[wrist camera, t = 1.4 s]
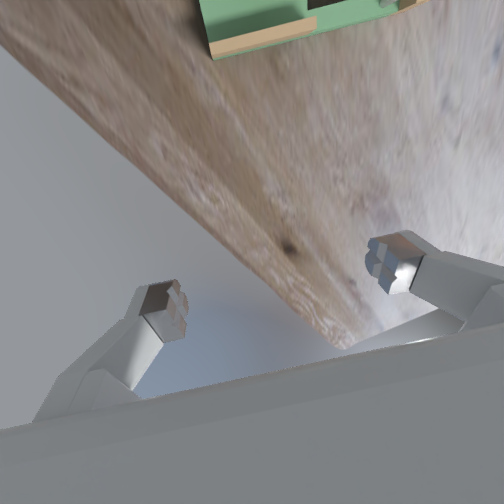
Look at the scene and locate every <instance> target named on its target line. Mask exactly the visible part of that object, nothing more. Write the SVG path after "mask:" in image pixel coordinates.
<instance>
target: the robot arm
mask: <svg viewBox="0 0 504 504" xmlns="http://www.w3.org/2000/svg"><path fill="white" fill-rule="evenodd" d="M367 247H368V248H369V249H370V251H369V252H368V253H367V254H366V256H365V265H366V268H367V270H368V272H369V273H370V274H371V276H373V277H376V278H378V284H379V285H380V286H381V287H382V288H383V290H384V291H385V292H386V293H387V294H388V295H391V294H396V293H402V292H407V291H410V293H412V294H414V295H416V296H418V297H419V298H421V299H423V300H425V301H427V302H429V303H431V304H433V305H434V306H436V307H438V308H440V309H442V310H444V311H446V312H448V313H450V314H451V315H453V316H455V317H457V318H459V319H461V320H463V321H465V323H464V324H463V326H462V327H461V329H460V330H459V332H455V333H451V334H446V335H442V336H437V337H432V338H427V339H423V340H418V341H413V342H409V343H404V344H399V345H395V346H390V347H385V348H380V349H376V350H371V351H366V352H362V353H357V354H352V355H348V356H343V357H338V358H333V359H329V360H324V361H320V362H315V363H311V364H306V365H301V366H296V367H292V368H287V369H282V370H278V371H273V372H268V373H264V374H259V375H254V376H250V377H245V378H241V379H236V380H231V381H226V382H222V383H218V384H212V385H208V386H203V387H199V388H194V389H189V390H184V391H180V392H175V393H170V394H165V395H161V396H156V397H152V398H147V399H141V398H140V397H139V396H138V395H136V394H135V393H134V392H133V389H134V388H135V386H136V385H137V383H138V382H139V380H140V379H141V377H142V376H143V374H144V373H145V372H146V370H147V368H148V367H149V366H150V364H151V363H152V361H153V360H154V358H155V357H156V355H157V354H158V352H159V351H160V349H161V348H162V346H163V345H164V344H163V343H166V342H171V341H175V340H179V339H183V338H184V337H185V330H186V322H185V320H184V319H185V317H186V316H187V315H188V301H187V298H186V295H185V293H183V292H181V291H180V284H179V282H178V281H177V280H175V279H174V280H169V281H164V282H158V283H153V284H148V285H144V286H139V287H138V288H137V289H136V291H135V294H134V296H133V298H132V301H131V303H130V305H129V308H128V310H127V313H126V315H125V317H124V319H122V320H119V321H118V322H117V323H116V324H115V325H114V326H113V327H111V328H110V329H109V330H108V331H107V332H106V333H105V334H104V335H103V336H102V337H101V338H99V339H98V340H97V341H96V342H95V343H94V344H93V345H92V346H91V347H90V348H89V349H88V350H86V351H85V352H84V353H83V354H82V355H81V356H80V357H79V358H78V359H77V360H76V361H75V362H74V363H72V364H71V365H70V366H69V367H68V368H67V369H66V370H65V371H64V372H63V373H61V374H60V375H59V376H58V378H57V379H56V381H55V383H54V385H53V386H52V388H51V390H50V392H49V393H48V395H47V397H46V399H45V400H44V402H43V404H42V406H41V407H40V409H39V411H38V413H37V415H36V416H35V418H34V420H33V421H32V423H29V424H25V425H20V426H15V427H11V428H6V429H1V430H0V504H504V267H503V266H499V265H495V264H492V263H488V262H484V261H481V260H477V259H473V258H470V257H466V256H462V255H458V254H455V253H451V252H447V251H444V252H441V251H440V250H438V249H437V248H436V247H434V246H433V245H431V244H430V243H428V242H427V241H425V240H424V239H422V238H421V237H420V236H418V235H417V234H415V233H414V232H412V231H410V230H405V231H400V232H396V233H393V234H388V235H384V236H379V237H374V238H370V240H369V241H368V246H367Z"/></svg>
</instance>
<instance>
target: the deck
mask: <svg viewBox="0 0 504 504" xmlns="http://www.w3.org/2000/svg"><path fill="white" fill-rule="evenodd" d="M427 1H430V0H346V1H342V2H338V3H335V4H331V5H327V6H323V7H319V8H315V9H312V10H308V11H307V0H199V2H200V7H201V11H202V15H203V20H204V24H205V28H206V33H207V37H208V41H209V47H210V51H211V55H212V59H213V61H214V60H218V59H222V58H226V57H230V56H234V55H238V54H242V53H246V52H249V51H253V50H257V49H261V48H265V47H269V46H273V45H277V44H281V43H285V42H288V41H292V40H296V39H300V38H304V37H308V36H312V35H316V34H320V33H324V32H328V31H331V30H335V29H339V28H343V27H347V26H351V25H355V24H359V23H363V22H367V21H371V20H374V19H378V18H382V17H386V16H390V15H394V14H398V13H402V12H405V11H407V10H409V9H412V8H414V7H416V6H418V5H421V4H423V3H425V2H427Z"/></svg>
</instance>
